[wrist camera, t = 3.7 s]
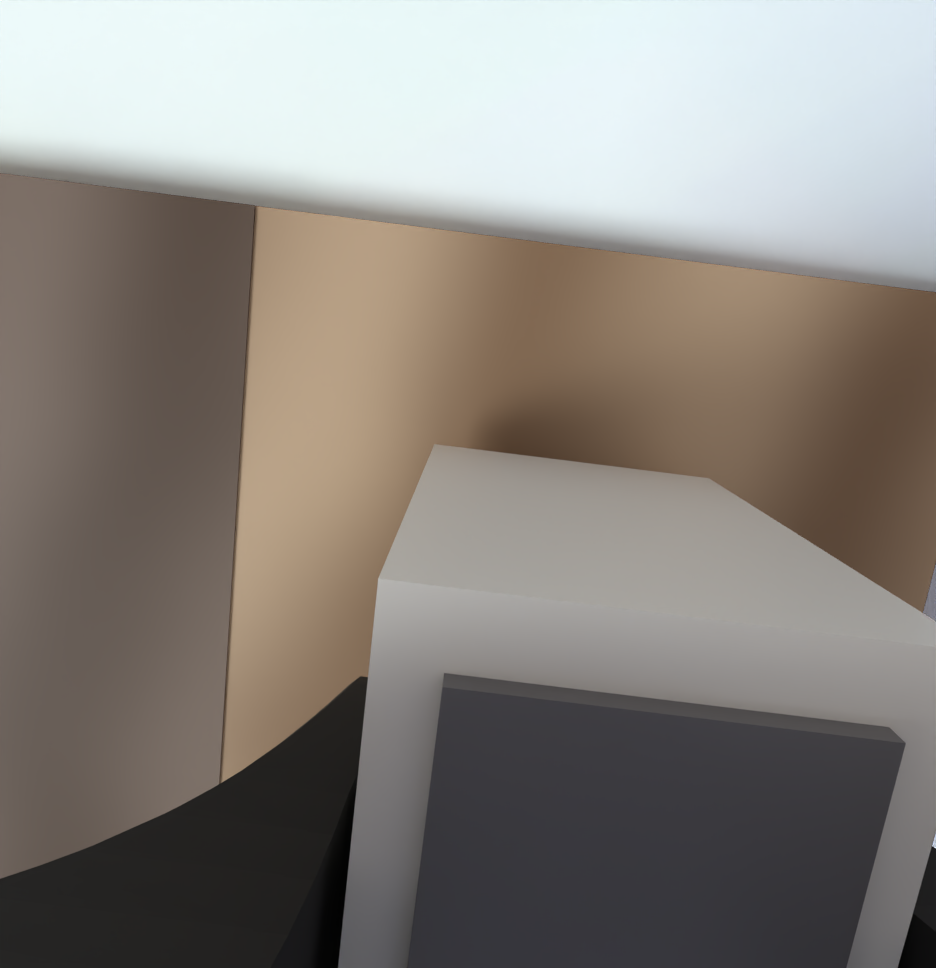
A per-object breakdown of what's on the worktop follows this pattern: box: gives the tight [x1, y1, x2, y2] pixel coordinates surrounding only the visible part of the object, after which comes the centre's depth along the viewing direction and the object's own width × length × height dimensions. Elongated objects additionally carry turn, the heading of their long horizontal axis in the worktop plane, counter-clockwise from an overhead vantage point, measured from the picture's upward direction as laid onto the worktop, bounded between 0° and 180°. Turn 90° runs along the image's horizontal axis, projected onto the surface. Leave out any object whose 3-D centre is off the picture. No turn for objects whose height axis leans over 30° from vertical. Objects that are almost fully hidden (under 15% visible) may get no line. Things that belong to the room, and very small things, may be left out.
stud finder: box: [338, 444, 936, 968], centre depth 8 cm, size 4×8×6 cm, turn 173°
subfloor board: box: [0, 173, 936, 879], centre depth 12 cm, size 16×14×1 cm
